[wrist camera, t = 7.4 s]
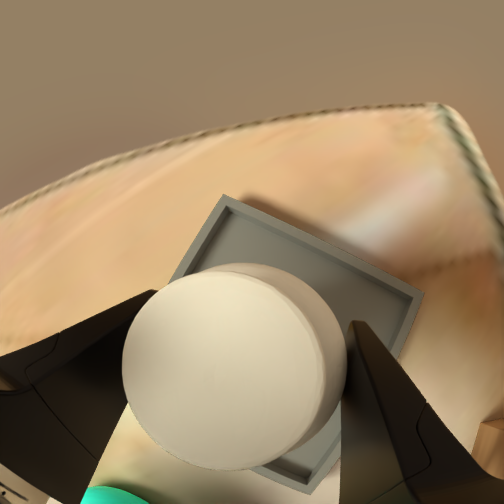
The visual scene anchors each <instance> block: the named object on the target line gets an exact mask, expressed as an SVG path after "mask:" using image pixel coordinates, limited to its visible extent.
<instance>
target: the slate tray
mask: <svg viewBox="0 0 504 504" xmlns="http://www.w3.org/2000/svg"><path fill="white" fill-rule="evenodd" d="M230 263H256V264H263V265H268V266H271V267H274V268H278V269H280V270H283V271H285V272H288V273H290V274H292V275H294V276H296V277H297V278H299V279H300V280H302V281H303V282H305V283H306V284H307V285H309V286H310V287H311V288H312V289H314V290H315V291H316V292H317V293H318V294H319V295H320V297H321V298H322V299H323V300H324V301H325V302H326V303H327V305H328V306H329V308H330V309H331V310H332V312H333V314H334V315H335V317H336V319H337V321H338V323H339V326H340V328H341V331H342V334H343V337H344V341H345V337H346V334H347V331H348V328H349V324H350V322H351V321H352V320H363V321H366V322H367V324H368V325H369V326H370V327H371V329H372V330H373V331H374V332H375V334H376V335H377V336H378V337H379V339H380V340H381V341H382V342H383V344H384V345H385V346H386V348H387V349H388V350H389V351H390V353H391V354H392V355H393V357H394V358H395V359H396V360H397V358H398V356H399V354H400V352H401V349H402V347H403V345H404V343H405V341H406V338H407V336H408V334H409V331H410V329H411V327H412V324H413V322H414V319H415V317H416V314H417V312H418V309H419V306H420V304H421V301H422V298H423V296H424V292H422V291H420V290H419V289H417V288H415V287H413V286H411V285H409V284H407V283H406V282H404V281H402V280H400V279H398V278H396V277H394V276H392V275H390V274H389V273H387V272H385V271H383V270H381V269H379V268H377V267H375V266H373V265H371V264H369V263H367V262H365V261H363V260H361V259H359V258H357V257H355V256H354V255H352V254H350V253H348V252H346V251H344V250H342V249H340V248H338V247H335V246H333V245H331V244H329V243H327V242H325V241H323V240H321V239H319V238H317V237H315V236H313V235H311V234H309V233H307V232H305V231H303V230H301V229H298V228H296V227H294V226H292V225H290V224H288V223H286V222H284V221H282V220H279V219H277V218H275V217H273V216H271V215H269V214H266V213H264V212H262V211H260V210H258V209H256V208H253V207H251V206H249V205H247V204H245V203H242V202H240V201H238V200H236V199H233V198H231V197H229V196H227V195H224V194H223V195H222V197H221V198H220V200H219V201H218V203H217V204H216V206H215V207H214V209H213V211H212V212H211V214H210V215H209V217H208V219H207V220H206V222H205V223H204V225H203V226H202V228H201V230H200V231H199V233H198V235H197V236H196V238H195V239H194V241H193V243H192V244H191V246H190V248H189V249H188V251H187V253H186V254H185V256H184V257H183V259H182V261H181V262H180V264H179V266H178V268H177V269H176V271H175V273H174V274H173V276H172V278H171V279H170V281H169V283H168V284H170V283H172V282H173V281H175V280H177V279H180V278H182V277H185V276H188V275H191V274H195V273H199V272H201V271H204V270H206V269H209V268H212V267H215V266H219V265H224V264H230ZM340 456H341V408H340V401H339V403H338V406H337V408H336V409H335V411H334V413H333V415H332V416H331V418H330V419H329V421H328V422H327V423H326V424H325V426H324V427H323V428H322V429H321V430H320V431H319V432H318V433H317V434H316V435H315V436H314V437H313V438H311V439H310V440H309V441H307V442H306V443H305V444H303V445H302V446H300V447H299V448H297V449H295V450H293V451H291V452H289V453H287V454H284V455H282V456H280V457H279V458H277V459H275V460H273V461H271V462H269V463H266V464H263V465H261V466H258V467H254V468H250V470H252V471H254V472H256V473H258V474H260V475H262V476H264V477H266V478H269V479H271V480H273V481H275V482H278V483H280V484H282V485H285V486H287V487H290V488H292V489H295V490H297V491H300V492H302V493H305V494H308V495H311V494H312V492H313V491H314V490H315V489H316V487H317V486H318V485H319V484H320V482H321V481H322V480H323V479H324V477H325V476H326V475H327V473H328V472H329V471H330V469H331V468H332V467H333V465H334V464H335V463H336V461H337V460H338V459H339V457H340Z"/></svg>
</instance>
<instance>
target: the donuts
mask: <svg viewBox="0 0 504 504" xmlns="http://www.w3.org/2000/svg"><path fill="white" fill-rule="evenodd" d="M80 504H149V503H148V502H146V501H145V500H143V499H141V498H139V497H137V496H135V495H133V494H131V493H129V492H126V491H124V490H121V489H117V488H113V487H107V486H94V487H89V488H87V490H86V492H85V494H84V497H83V499H82V501H81V503H80Z"/></svg>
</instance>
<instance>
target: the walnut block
mask: <svg viewBox="0 0 504 504" xmlns="http://www.w3.org/2000/svg"><path fill="white" fill-rule="evenodd" d="M471 456H472V457H473V458H474V459H475V461H476V462H477V463H478V464H479V465H480V466H481V467H482V468H483V469H484V470H485V471H486V472H487V473H489V474H490V475H492V476H494V477H496V478H499V479H503V480H504V418H502V419H497V420H493V421H488V422H483V423H480V426H479V430H478V433H477V437H476V440H475V444H474V447H473V450H472V453H471Z"/></svg>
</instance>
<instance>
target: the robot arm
mask: <svg viewBox="0 0 504 504" xmlns="http://www.w3.org/2000/svg"><path fill="white" fill-rule="evenodd" d="M157 292H158V290H153V289H150V290H148V291H145V292H143V293H141V294H139V295H137V296H135V297H133V298H130V299H128V300H126V301H124V302H122V303H120V304H118V305H116V306H113V307H111V308H109V309H107V310H105V311H103V312H101V313H98V314H96V315H94V316H92V317H90V318H88V319H86V320H84V321H82V322H79V323H77V324H75V325H73V326H71V327H69V328H67V329H65V330H63V331H61V332H60V333H59V332H58V333H56V334H54V335H52V336H50V337H48V338H46V339H43V340H41V341H39V342H37V343H34V344H32V345H29V346H27V347H24V348H22V349H19V350H17V351H14V352H11V353H9V354H6V355H3V356H1V357H0V504H46V503H47V501H48V499H49V498H50V497H52V498H54V499H55V500H57V501H59V502H61V503H63V504H80V503H81V501H82V499H83V497H84V494H85V492H86V490H87V488H88V485H89V483H90V481H91V479H92V476H93V474H94V472H95V470H96V468H97V466H98V463H99V462H98V461H100V459H101V457H102V454H103V452H104V450H105V448H106V446H107V444H108V442H109V440H110V438H111V436H112V433H113V431H114V429H115V427H116V425H117V423H118V421H119V419H120V417H121V415H122V413H123V411H124V409H125V407H126V405H127V403H128V400H127V397H126V393H125V390H124V385H123V377H122V357H123V349H124V344H125V340H126V337H127V334H128V331H129V329H130V327H131V324H132V323H133V321H134V319H135V317H136V315H137V314H138V313H139V311H140V310H141V308H142V307H143V306H144V305H145V304H146V303H147V301H148V300H149V299H150V298H151V297H152V296H153V295H154V294H156V293H157ZM345 345H346V351H347V376H346V382H345V387H344V390H343V393H342V396H341V399H340V408H341V471H340V496H339V504H504V480H503V479H499V478H496V477H494V476H492V475H490V474H489V473H487V472H486V471H485V470H484V469H483V468H482V467H481V466H480V465H479V464H478V463H477V462H476V461H475V459H474V458H473V457H472V456H471V455H470V454H469V452H468V451H467V450H466V449H465V448H464V447H463V446H462V444H461V443H460V442H459V441H458V440H457V439H456V438H455V436H454V435H453V434H452V433H451V432H450V430H449V429H448V428H447V427H446V426H445V424H444V423H443V422H442V421H441V419H440V418H439V417H438V415H437V414H436V413H435V411H434V410H433V409H432V407H431V406H430V404H429V403H426V399H425V398H424V396H423V395H422V394H421V392H420V391H419V390H418V388H417V387H416V386H415V384H414V383H413V382H412V380H411V379H410V378H409V376H408V375H407V374H406V372H405V371H404V370H403V368H402V367H401V366H400V364H399V363H398V362H397V360H396V359H395V358H394V357H393V355H392V354H391V353H390V351H389V350H388V349H387V348H386V346H385V345H384V344H383V342H382V341H381V340H380V339H379V337H378V336H377V335H376V334H375V332H374V331H373V330H372V329H371V327H370V326H369V325H368V324H367V322H366V321H363V320H352V321H351V322H350V324H349V328H348V331H347V334H346V337H345Z"/></svg>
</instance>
